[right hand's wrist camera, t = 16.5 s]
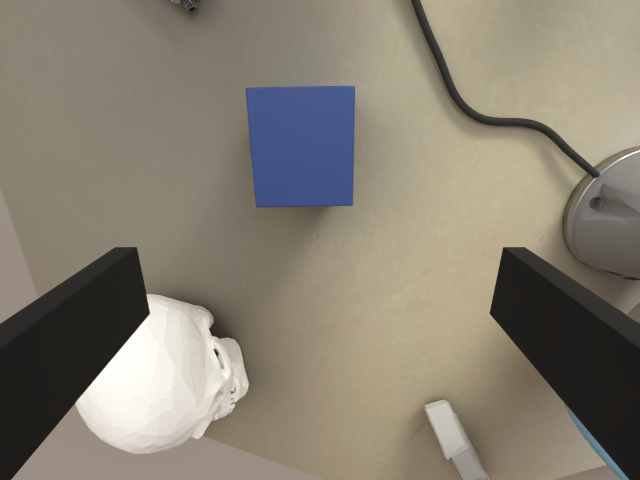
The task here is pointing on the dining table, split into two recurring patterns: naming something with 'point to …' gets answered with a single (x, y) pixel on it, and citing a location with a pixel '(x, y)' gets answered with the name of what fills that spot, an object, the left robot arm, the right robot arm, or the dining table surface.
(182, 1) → the toy gun
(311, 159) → the brick
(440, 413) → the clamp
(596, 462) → the dining table surface
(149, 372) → the skull
